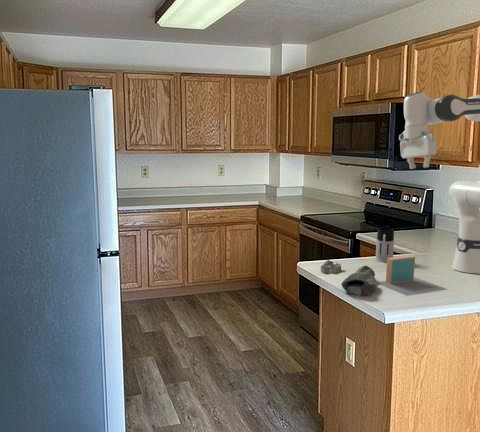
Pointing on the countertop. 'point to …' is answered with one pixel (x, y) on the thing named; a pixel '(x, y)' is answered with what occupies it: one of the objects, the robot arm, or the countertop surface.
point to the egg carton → (330, 267)
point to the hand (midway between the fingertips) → (419, 168)
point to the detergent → (360, 281)
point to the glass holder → (384, 244)
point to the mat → (412, 287)
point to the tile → (400, 269)
